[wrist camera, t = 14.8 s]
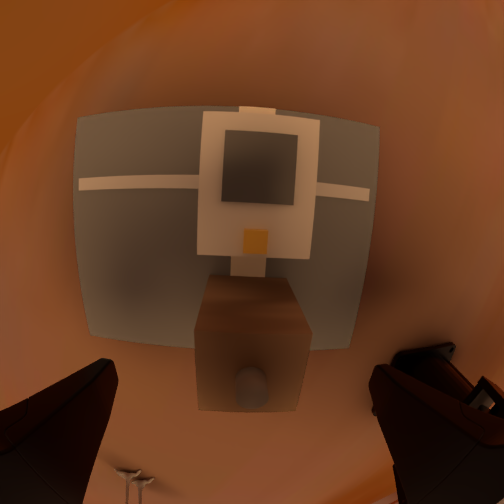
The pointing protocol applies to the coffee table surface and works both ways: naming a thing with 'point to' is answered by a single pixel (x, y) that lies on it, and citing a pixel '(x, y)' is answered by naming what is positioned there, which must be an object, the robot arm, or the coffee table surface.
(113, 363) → the robot arm
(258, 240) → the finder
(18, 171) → the coffee table surface
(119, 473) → the figurine
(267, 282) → the wooden knobbed box
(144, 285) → the board
